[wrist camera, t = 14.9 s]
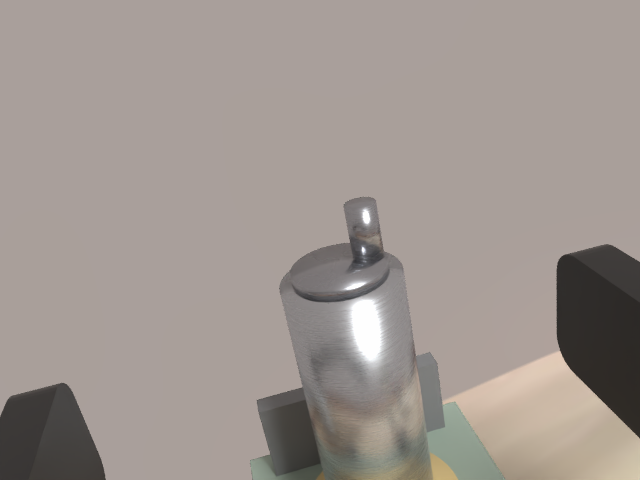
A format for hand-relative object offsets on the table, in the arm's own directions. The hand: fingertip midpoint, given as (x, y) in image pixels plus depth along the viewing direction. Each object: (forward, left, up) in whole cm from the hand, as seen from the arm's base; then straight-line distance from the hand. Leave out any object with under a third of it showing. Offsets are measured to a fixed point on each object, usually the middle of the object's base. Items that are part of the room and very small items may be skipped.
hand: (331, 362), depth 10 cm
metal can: (+3, +16, -21) cm, 26 cm away
